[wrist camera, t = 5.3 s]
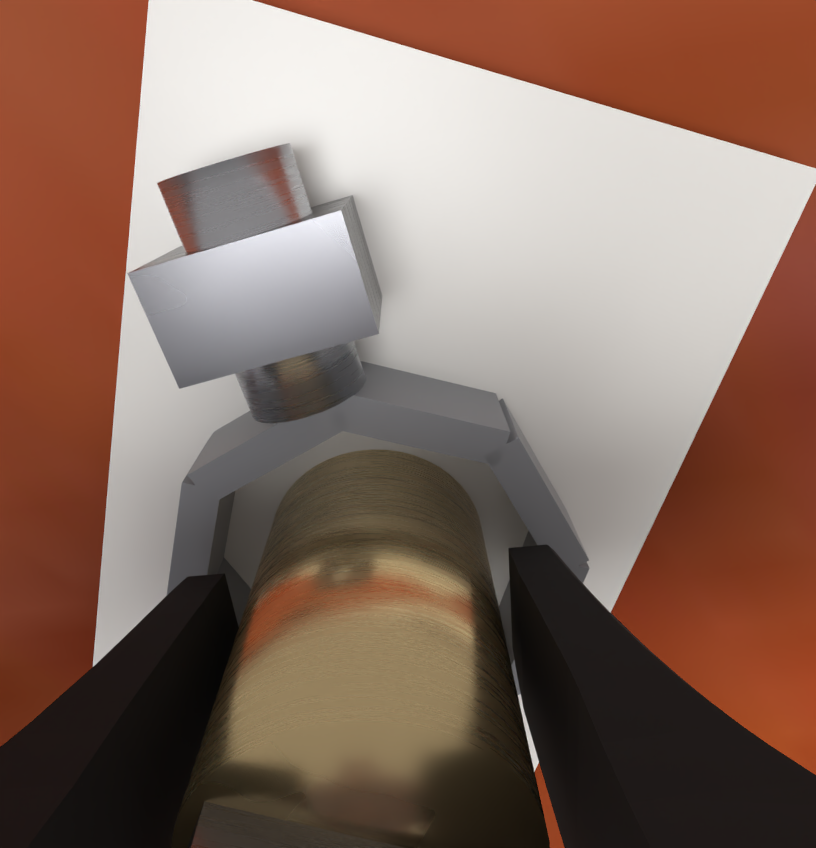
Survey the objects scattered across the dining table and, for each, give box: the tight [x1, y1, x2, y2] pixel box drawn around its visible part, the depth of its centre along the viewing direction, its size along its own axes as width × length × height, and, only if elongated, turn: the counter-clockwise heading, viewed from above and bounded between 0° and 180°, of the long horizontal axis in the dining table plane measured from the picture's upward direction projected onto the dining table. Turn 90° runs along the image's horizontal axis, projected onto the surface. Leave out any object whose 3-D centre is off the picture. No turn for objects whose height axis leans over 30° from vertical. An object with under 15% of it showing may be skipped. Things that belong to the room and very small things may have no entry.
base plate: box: [93, 0, 816, 772], centre depth 12 cm, size 16×10×3 cm, turn 166°
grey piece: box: [127, 143, 382, 423], centre depth 9 cm, size 3×3×2 cm
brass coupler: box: [171, 449, 550, 848], centre depth 9 cm, size 4×4×7 cm
